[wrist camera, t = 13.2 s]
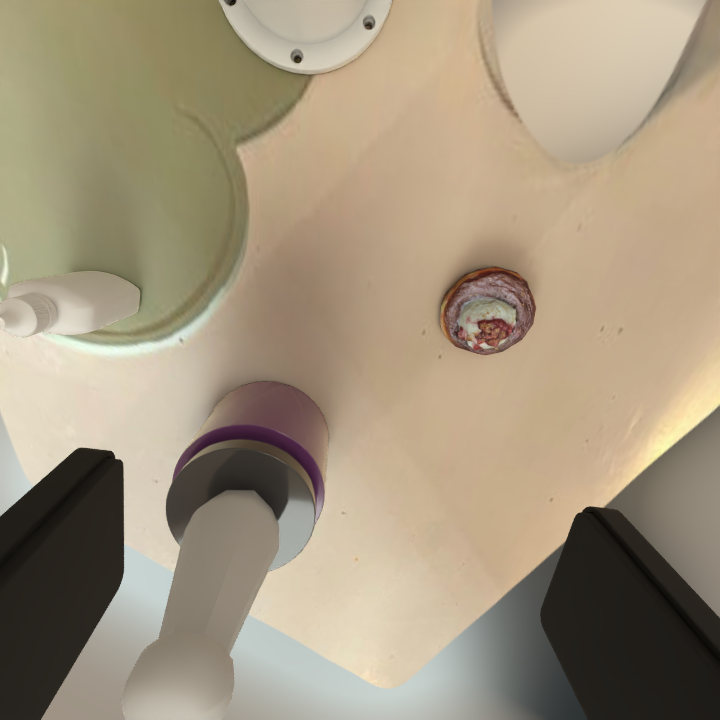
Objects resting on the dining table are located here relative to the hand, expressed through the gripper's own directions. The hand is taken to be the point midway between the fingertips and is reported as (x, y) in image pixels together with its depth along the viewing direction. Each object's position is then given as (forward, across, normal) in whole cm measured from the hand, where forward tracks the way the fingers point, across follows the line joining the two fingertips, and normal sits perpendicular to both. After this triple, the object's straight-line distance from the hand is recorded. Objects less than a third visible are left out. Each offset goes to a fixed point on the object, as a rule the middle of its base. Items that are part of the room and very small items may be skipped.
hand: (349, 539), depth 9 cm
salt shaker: (+18, +5, +14) cm, 23 cm away
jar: (+29, +5, +14) cm, 33 cm away
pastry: (+30, -12, 0) cm, 32 cm away
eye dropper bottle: (+30, +19, +3) cm, 36 cm away
